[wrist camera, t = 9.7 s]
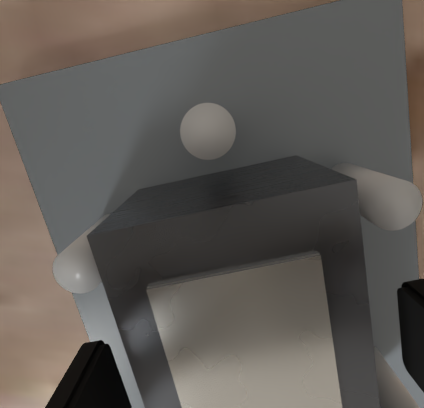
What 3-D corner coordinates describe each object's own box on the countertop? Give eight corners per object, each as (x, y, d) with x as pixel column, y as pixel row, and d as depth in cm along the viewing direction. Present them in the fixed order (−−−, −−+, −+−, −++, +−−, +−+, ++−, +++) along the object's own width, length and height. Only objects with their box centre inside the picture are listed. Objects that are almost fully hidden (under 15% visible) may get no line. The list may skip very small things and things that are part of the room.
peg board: (413, 427, 16) (492, 547, 12) (152, 470, 17) (130, 597, 12) (382, -1, 11) (496, -84, 7) (15, 89, 12) (-105, 69, 8)
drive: (332, 393, 14) (396, 541, 9) (202, 415, 15) (197, 568, 10) (296, 155, 11) (359, 180, 6) (138, 189, 12) (83, 238, 7)
